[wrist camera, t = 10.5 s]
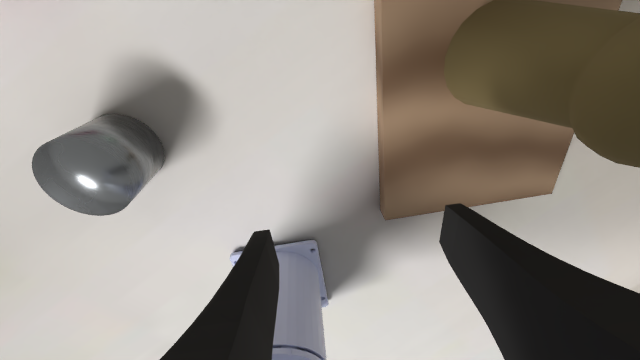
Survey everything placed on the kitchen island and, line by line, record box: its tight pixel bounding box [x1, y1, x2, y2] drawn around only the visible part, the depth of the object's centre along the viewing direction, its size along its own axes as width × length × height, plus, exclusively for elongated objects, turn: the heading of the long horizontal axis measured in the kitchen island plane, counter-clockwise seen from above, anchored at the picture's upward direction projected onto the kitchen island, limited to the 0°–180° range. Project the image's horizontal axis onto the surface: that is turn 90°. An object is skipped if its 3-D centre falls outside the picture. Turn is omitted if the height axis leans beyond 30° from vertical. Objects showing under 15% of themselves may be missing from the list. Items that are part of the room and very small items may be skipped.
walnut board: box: [374, 0, 622, 220], centre depth 18 cm, size 22×14×2 cm, turn 8°
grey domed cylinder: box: [32, 114, 164, 216], centre depth 17 cm, size 5×5×4 cm
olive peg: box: [444, 0, 640, 168], centre depth 12 cm, size 6×6×11 cm
